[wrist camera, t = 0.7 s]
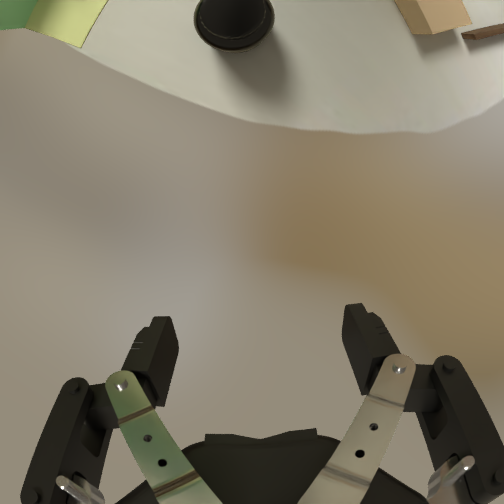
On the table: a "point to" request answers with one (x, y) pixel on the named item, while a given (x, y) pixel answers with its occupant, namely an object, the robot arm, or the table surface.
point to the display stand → (52, 17)
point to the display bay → (484, 32)
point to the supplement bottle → (234, 23)
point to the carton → (433, 15)
